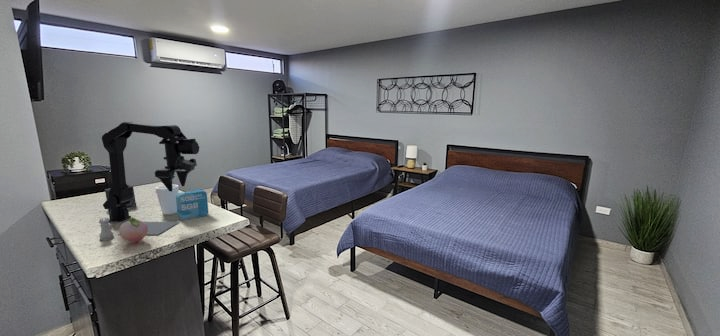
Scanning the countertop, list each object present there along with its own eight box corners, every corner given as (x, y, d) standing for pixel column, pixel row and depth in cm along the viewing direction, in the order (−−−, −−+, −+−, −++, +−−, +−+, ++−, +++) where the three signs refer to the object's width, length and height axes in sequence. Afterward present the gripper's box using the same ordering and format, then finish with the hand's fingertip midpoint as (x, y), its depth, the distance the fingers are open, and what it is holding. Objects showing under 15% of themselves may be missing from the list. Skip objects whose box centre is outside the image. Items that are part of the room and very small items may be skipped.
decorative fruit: (116, 244, 111) (112, 218, 110) (141, 236, 118) (138, 212, 117) (127, 250, 107) (123, 223, 105) (153, 241, 113) (150, 216, 112)
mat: (118, 235, 119) (118, 234, 119) (143, 222, 133) (143, 221, 133) (158, 235, 119) (158, 234, 119) (179, 222, 133) (179, 221, 133)
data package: (180, 221, 135) (177, 195, 133) (178, 218, 138) (175, 193, 136) (208, 214, 143) (206, 190, 141) (205, 212, 147) (203, 188, 144)
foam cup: (183, 208, 153) (180, 183, 150) (178, 214, 144) (175, 188, 142) (161, 210, 150) (158, 185, 147) (155, 216, 141) (152, 189, 139)
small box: (132, 203, 161) (129, 184, 159) (136, 205, 157) (134, 186, 156) (107, 208, 153) (104, 188, 151) (111, 210, 149) (108, 190, 147)
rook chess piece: (105, 236, 119) (102, 216, 117) (117, 235, 119) (114, 216, 117) (96, 241, 114) (93, 221, 113) (108, 240, 115) (105, 220, 113)
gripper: (178, 157, 122) (182, 194, 125) (202, 151, 141) (205, 183, 143) (151, 157, 122) (156, 194, 125) (179, 151, 141) (182, 183, 143)
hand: (177, 188), depth 134 cm, fingers open, 9 cm apart
